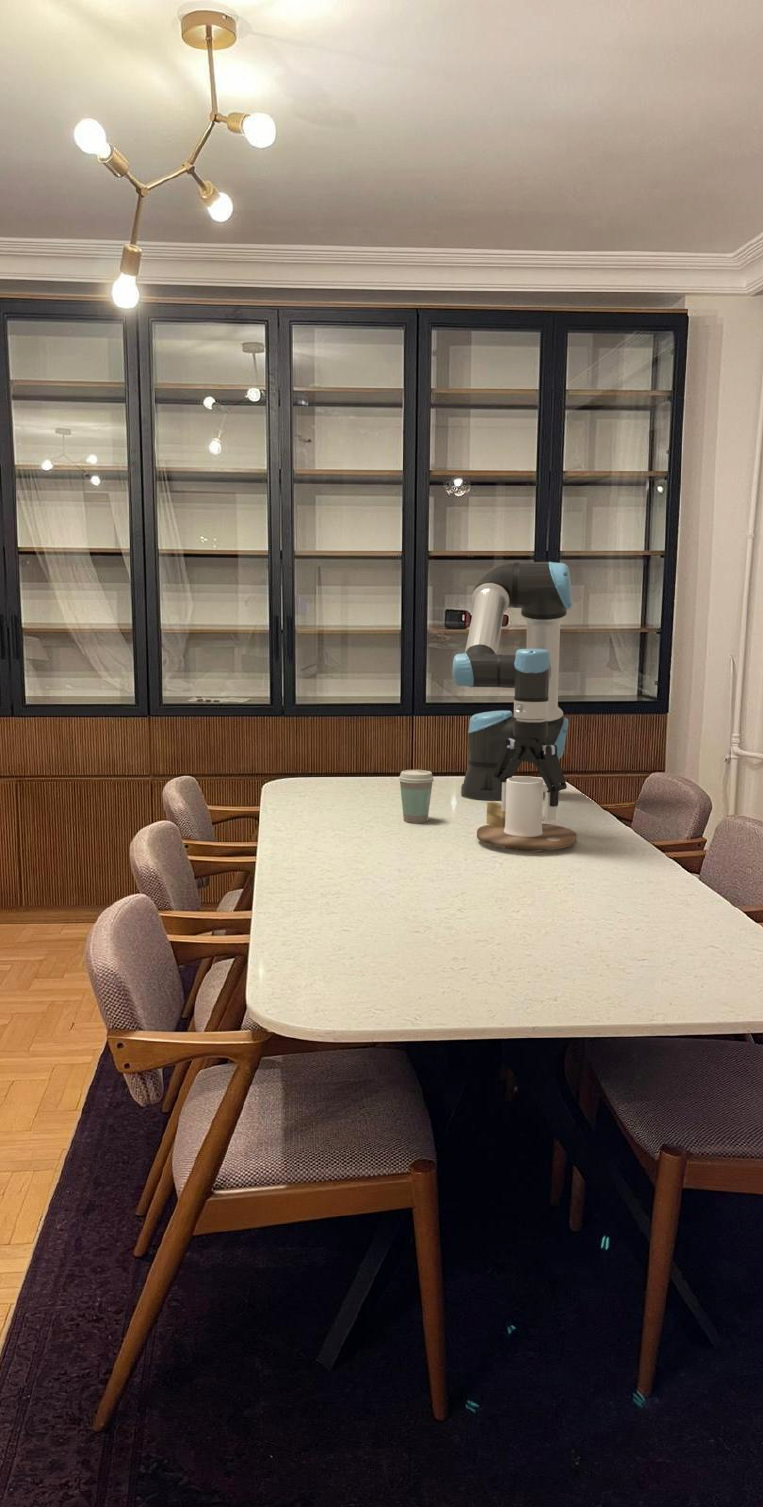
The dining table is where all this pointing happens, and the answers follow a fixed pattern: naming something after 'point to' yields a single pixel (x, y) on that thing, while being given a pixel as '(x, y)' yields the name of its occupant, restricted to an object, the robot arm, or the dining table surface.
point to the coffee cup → (416, 794)
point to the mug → (524, 807)
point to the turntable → (548, 840)
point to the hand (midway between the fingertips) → (527, 815)
